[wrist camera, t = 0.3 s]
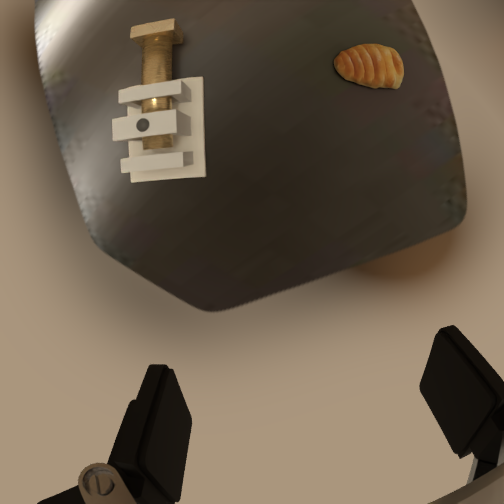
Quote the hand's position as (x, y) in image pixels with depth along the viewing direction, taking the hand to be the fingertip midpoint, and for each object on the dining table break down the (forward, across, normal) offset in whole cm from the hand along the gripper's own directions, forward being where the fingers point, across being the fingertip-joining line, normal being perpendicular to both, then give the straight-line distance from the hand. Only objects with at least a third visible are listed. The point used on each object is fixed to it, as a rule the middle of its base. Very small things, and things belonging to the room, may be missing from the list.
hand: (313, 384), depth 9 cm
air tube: (+29, +11, -17) cm, 35 cm away
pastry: (+31, -16, -18) cm, 39 cm away
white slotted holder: (+30, +12, -12) cm, 34 cm away
